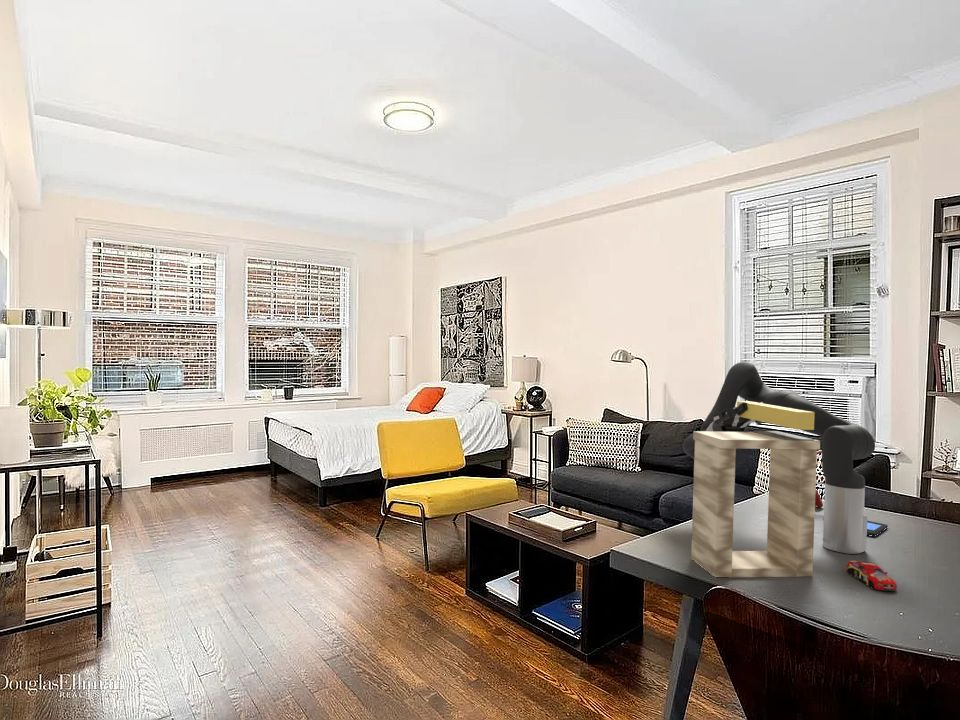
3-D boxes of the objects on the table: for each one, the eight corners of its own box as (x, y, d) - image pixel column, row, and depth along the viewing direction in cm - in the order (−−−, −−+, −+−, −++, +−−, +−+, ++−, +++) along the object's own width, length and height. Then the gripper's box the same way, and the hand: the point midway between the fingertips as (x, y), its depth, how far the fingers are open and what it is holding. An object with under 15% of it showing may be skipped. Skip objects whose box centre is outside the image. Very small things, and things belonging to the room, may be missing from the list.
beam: (750, 416, 162) (751, 401, 162) (813, 429, 136) (814, 412, 136) (736, 416, 162) (737, 401, 162) (797, 429, 136) (798, 412, 136)
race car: (901, 595, 131) (902, 577, 131) (875, 593, 132) (876, 575, 132) (866, 572, 144) (867, 556, 144) (843, 571, 145) (843, 555, 145)
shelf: (778, 557, 153) (783, 431, 153) (815, 577, 139) (820, 439, 139) (689, 558, 151) (693, 430, 150) (717, 579, 137) (721, 438, 136)
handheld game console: (875, 539, 172) (876, 507, 172) (823, 528, 182) (824, 497, 182) (888, 528, 183) (889, 498, 183) (839, 519, 192) (840, 490, 192)
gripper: (698, 417, 173) (725, 391, 158) (744, 418, 174) (776, 393, 159) (703, 442, 169) (732, 418, 154) (751, 442, 171) (783, 419, 156)
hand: (754, 405), depth 157 cm, fingers closed on beam, 4 cm apart
